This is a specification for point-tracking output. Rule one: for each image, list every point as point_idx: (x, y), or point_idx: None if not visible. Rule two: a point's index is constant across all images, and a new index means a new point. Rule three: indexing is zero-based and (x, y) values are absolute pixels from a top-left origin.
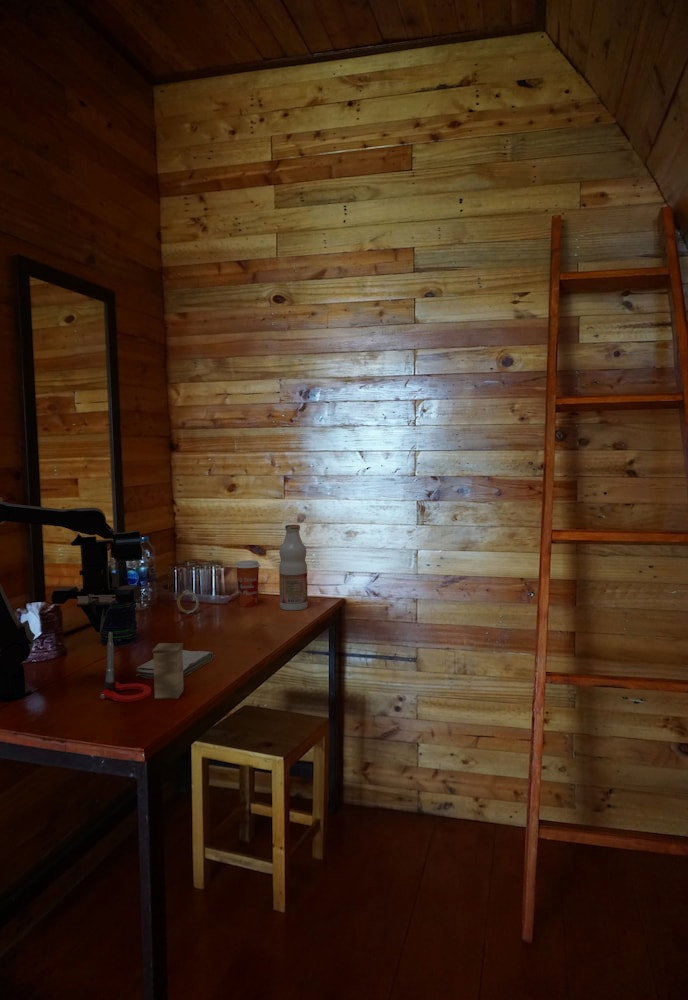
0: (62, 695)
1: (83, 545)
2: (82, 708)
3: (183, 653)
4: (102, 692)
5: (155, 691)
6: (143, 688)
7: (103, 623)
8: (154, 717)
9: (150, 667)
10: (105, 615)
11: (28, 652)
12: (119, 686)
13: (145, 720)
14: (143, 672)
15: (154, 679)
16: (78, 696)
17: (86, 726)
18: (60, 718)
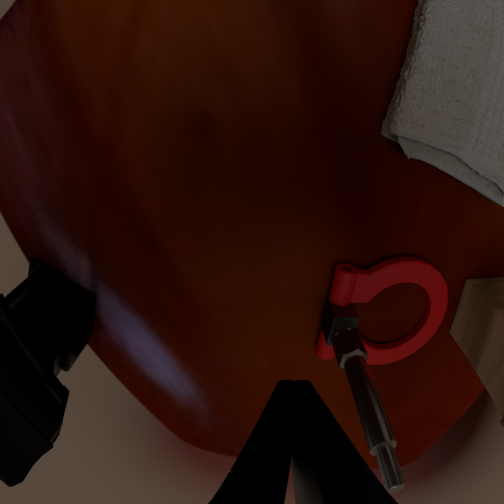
0: (189, 315)
1: None
2: None
3: (500, 7)
4: (325, 355)
5: (458, 343)
6: (430, 296)
7: (336, 425)
8: (437, 406)
9: (445, 141)
10: (371, 488)
11: (61, 424)
12: (362, 294)
13: (422, 416)
14: (419, 158)
15: (471, 364)
16: (242, 324)
17: None
18: None
